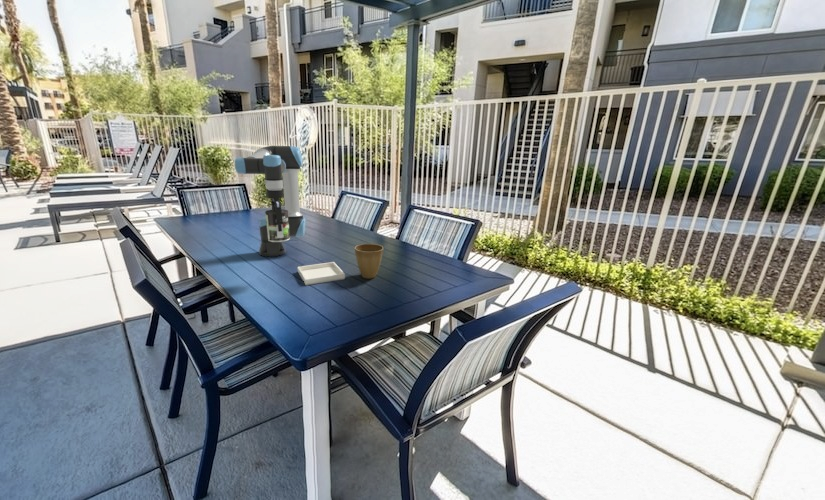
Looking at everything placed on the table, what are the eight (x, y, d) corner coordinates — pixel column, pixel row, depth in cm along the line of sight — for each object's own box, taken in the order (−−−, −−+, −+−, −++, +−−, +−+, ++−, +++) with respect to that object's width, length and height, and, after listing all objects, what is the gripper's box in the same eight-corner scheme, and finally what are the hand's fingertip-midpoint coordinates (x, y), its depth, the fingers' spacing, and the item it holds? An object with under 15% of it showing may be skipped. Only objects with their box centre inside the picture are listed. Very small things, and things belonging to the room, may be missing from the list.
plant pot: (378, 282, 174) (378, 252, 169) (351, 279, 176) (350, 250, 171) (386, 272, 187) (386, 244, 183) (360, 269, 190) (360, 242, 185)
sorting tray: (297, 272, 184) (297, 266, 183) (334, 266, 193) (334, 261, 192) (305, 285, 167) (305, 279, 166) (345, 279, 177) (345, 273, 176)
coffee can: (294, 239, 168) (292, 211, 164) (275, 243, 160) (272, 214, 156) (282, 235, 174) (280, 208, 170) (263, 239, 166) (260, 211, 162)
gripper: (263, 186, 167) (267, 230, 174) (269, 192, 148) (273, 241, 155) (279, 185, 171) (283, 228, 177) (287, 192, 152) (290, 240, 159)
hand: (278, 234), depth 166 cm, fingers closed on coffee can, 10 cm apart
